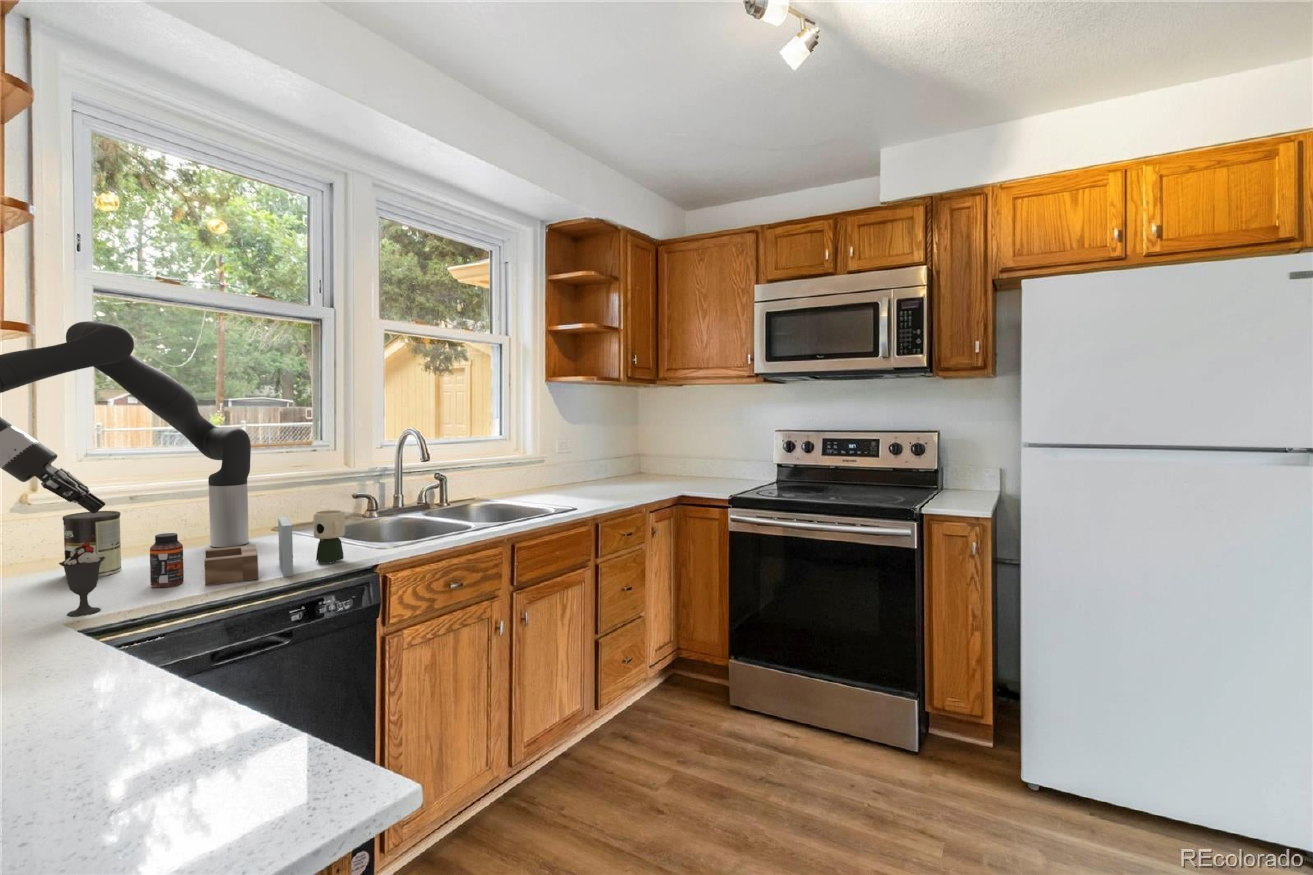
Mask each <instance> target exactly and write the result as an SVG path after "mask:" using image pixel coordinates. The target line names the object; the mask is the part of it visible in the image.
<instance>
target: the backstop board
mask: <svg viewBox="0 0 1313 875" xmlns="http://www.w3.org/2000/svg"><path fill="white" fill-rule="evenodd" d="M277 524H278V560H279V562H278V563H279V564H278V565H279V569H280V571H281V574H282V577H283V578H284V577H285V578H286V577H293V576H294V555H293V554H294V549H293V548H294V547H293V546H294V544H293V542H294V541H293V524H292V522H291V521H290V519H289V518H288V516H283V517H282V516H281V517H278V518H277Z"/></svg>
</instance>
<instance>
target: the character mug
mask: <svg viewBox="0 0 1313 875" xmlns="http://www.w3.org/2000/svg"><path fill="white" fill-rule="evenodd" d="M345 534H346V513H345V510H342V509H329V510H328V509H326V510H325V509H324V510H318V511H314V512H313V538H314V539H319V541H318V543H317V551H316V558H315V562H317V563H319V564H334V562H337V561H341V560H344V558H345V556H344V551H343V543H342V540H341V537H344V536H345Z"/></svg>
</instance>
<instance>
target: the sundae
mask: <svg viewBox="0 0 1313 875" xmlns="http://www.w3.org/2000/svg"><path fill="white" fill-rule="evenodd" d="M91 537H93V538H94V537H95V536H94V535H91ZM91 537H90V538H91ZM90 538H89V539H90ZM89 539H88V540H89ZM91 539H92V538H91ZM91 539H90V540H91ZM88 540H87V542H88ZM90 540H89V542H90ZM87 542H86V543H84V544H82V546H80V547H77V548H75V549H74V550H72V551H68V550H65V549H64V552H63V553H64V560H63V561H62V562H59V563H58V564H59V565H60V566H62V567H63V568H64V573H65V574H66V577H65V578H66V583H67V586H68V589H69V591H71V593H73V594H75V595H78V596H79V605H78V607H77V608H76V609H73V610H72V611H71V610H70V611H69V612H67V614H66V616H68V617H82V616H81V615H84V616H88V615H87V614H89V615H93V614H96V613H98V611H99V612H100V611H101V610H102V608H100V607H94V606H91V605H90V604H89V601H88V595H89V594H90V593H91V592H93V591H94V590H95V588H96V587H97V586H98V582H99V577H98V576H99V568H100V564H101V562H102V561H103V560H104V559H105V557H99V555H98V554H97V553H96V552H94V551H93V550H94V548H93V547H91V546H90V545H89V542H88V543H87Z"/></svg>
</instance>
